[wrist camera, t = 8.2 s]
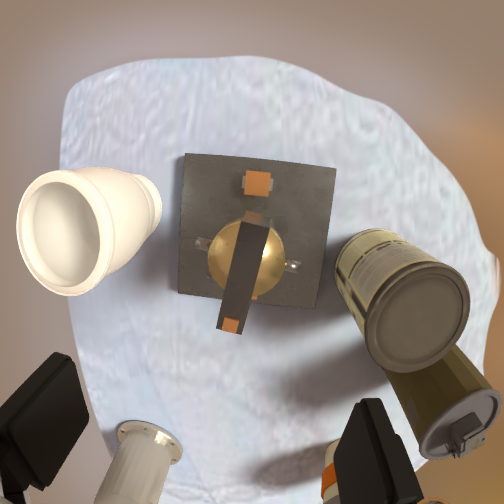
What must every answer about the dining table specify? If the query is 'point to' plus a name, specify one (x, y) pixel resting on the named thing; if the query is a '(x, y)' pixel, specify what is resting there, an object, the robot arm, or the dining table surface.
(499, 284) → the dining table surface
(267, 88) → the dining table surface
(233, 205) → the lever latch plate
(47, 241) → the jar
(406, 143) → the dining table surface
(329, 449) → the reusable coffee cup
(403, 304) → the coffee can
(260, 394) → the dining table surface
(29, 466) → the robot arm
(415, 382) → the canister
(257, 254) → the latch lever
